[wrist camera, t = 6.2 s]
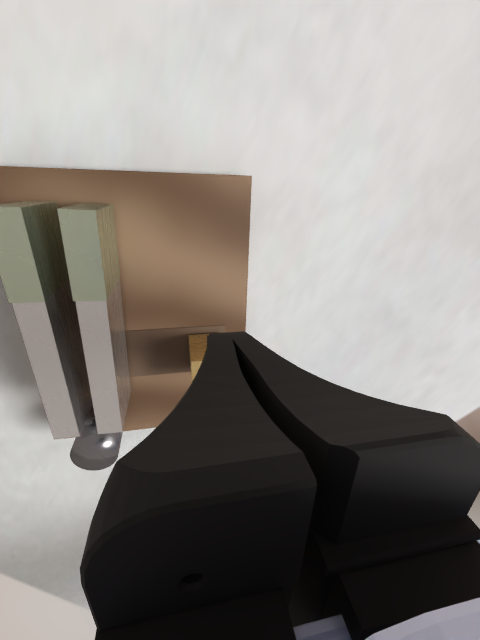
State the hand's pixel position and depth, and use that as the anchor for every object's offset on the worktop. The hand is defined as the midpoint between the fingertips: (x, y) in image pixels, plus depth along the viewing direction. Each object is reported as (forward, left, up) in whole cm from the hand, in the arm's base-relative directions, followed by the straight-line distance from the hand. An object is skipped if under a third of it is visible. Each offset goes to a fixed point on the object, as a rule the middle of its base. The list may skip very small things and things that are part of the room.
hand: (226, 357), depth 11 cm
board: (-2, +4, -9) cm, 10 cm away
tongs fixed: (-2, +7, -8) cm, 10 cm away
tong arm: (-1, +5, -7) cm, 9 cm away
